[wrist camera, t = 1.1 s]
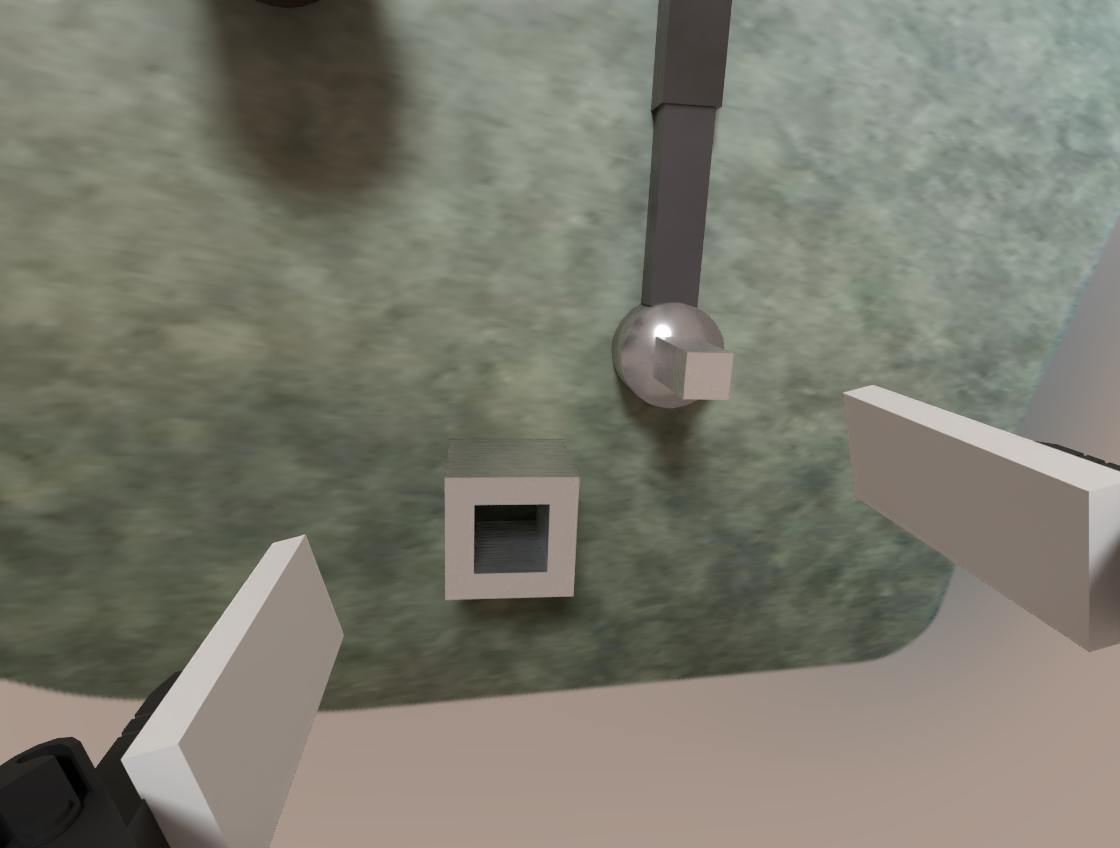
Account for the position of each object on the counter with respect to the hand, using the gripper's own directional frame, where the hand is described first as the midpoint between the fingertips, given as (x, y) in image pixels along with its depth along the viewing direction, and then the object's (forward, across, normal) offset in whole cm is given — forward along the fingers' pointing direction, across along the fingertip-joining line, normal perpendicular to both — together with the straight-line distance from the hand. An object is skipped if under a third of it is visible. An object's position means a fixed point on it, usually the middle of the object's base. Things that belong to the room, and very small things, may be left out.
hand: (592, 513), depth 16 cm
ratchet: (+19, +9, +7) cm, 23 cm away
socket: (+19, -3, -6) cm, 20 cm away
